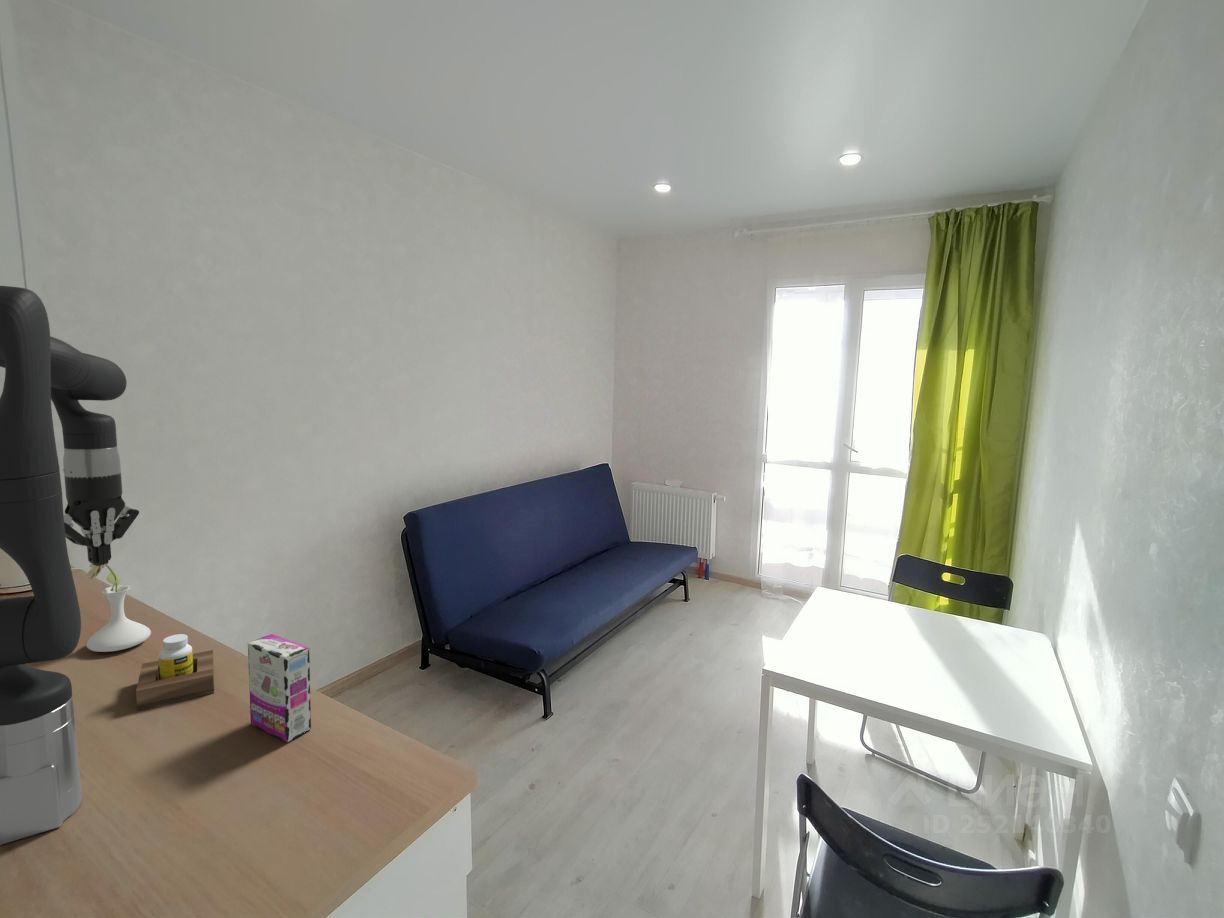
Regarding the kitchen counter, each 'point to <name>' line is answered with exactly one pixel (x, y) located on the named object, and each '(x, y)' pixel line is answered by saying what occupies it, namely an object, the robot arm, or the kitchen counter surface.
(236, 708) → the kitchen counter surface
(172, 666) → the supplement bottle
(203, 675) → the socket block
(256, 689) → the candy bar box
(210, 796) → the kitchen counter surface
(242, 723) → the kitchen counter surface
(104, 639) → the flower in vase
